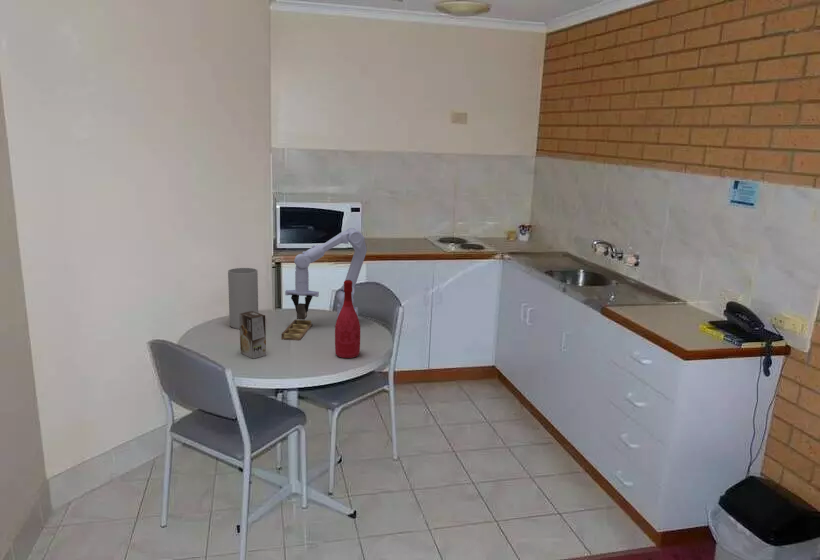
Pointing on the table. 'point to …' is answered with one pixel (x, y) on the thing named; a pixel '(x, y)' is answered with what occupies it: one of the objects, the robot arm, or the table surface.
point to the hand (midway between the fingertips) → (302, 311)
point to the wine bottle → (347, 327)
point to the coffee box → (252, 334)
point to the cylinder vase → (242, 293)
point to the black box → (301, 311)
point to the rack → (296, 330)
